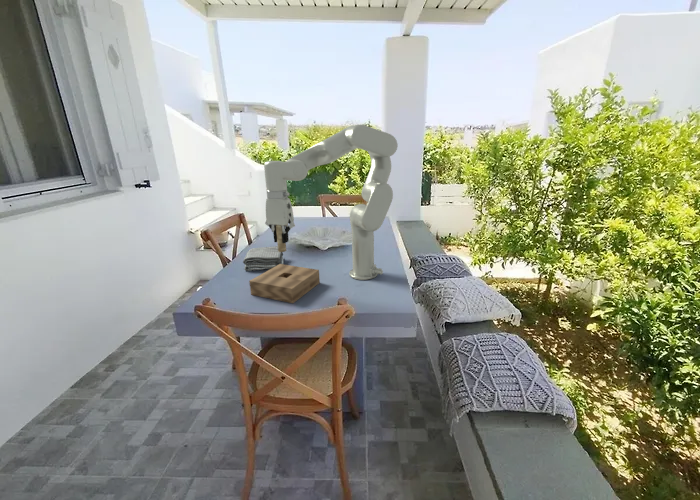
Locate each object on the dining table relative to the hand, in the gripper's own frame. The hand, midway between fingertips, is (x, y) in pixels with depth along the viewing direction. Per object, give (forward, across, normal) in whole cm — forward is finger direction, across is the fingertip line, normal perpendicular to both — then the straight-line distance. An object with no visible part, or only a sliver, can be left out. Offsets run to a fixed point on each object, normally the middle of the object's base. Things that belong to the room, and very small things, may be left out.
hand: (281, 241), depth 127 cm
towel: (+21, +26, -20) cm, 39 cm away
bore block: (+20, 0, 0) cm, 20 cm away
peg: (+4, 0, 0) cm, 4 cm away
